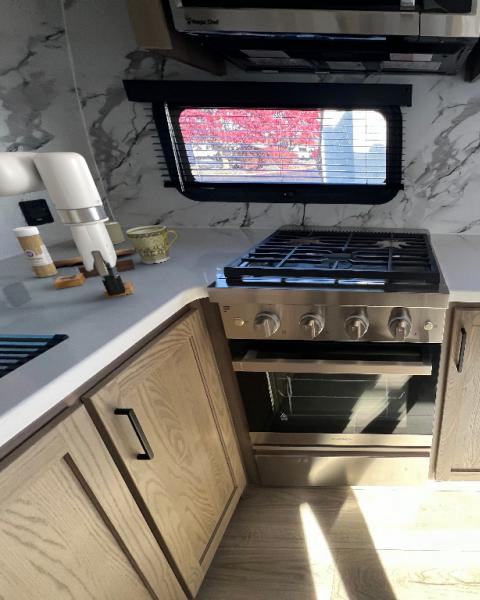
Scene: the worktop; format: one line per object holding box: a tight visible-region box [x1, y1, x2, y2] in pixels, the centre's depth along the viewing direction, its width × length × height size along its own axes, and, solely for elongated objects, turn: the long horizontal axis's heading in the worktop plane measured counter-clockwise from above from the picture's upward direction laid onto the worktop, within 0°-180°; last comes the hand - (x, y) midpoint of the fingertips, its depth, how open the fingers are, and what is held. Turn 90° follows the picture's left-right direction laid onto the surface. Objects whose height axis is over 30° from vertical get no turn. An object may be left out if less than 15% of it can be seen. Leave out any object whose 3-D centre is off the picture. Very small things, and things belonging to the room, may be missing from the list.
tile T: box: [53, 272, 86, 290], centre depth 87 cm, size 5×5×2 cm
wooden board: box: [52, 247, 137, 268], centre depth 105 cm, size 25×10×1 cm, turn 128°
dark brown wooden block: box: [77, 258, 136, 279], centre depth 94 cm, size 12×3×3 cm, turn 126°
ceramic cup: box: [125, 224, 178, 265], centre depth 101 cm, size 13×10×10 cm
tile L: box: [103, 280, 134, 299], centre depth 81 cm, size 5×5×2 cm
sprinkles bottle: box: [11, 225, 59, 278], centre depth 90 cm, size 5×5×13 cm
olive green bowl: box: [103, 220, 126, 246], centre depth 121 cm, size 12×12×7 cm
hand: (117, 293), depth 78 cm, fingers closed
